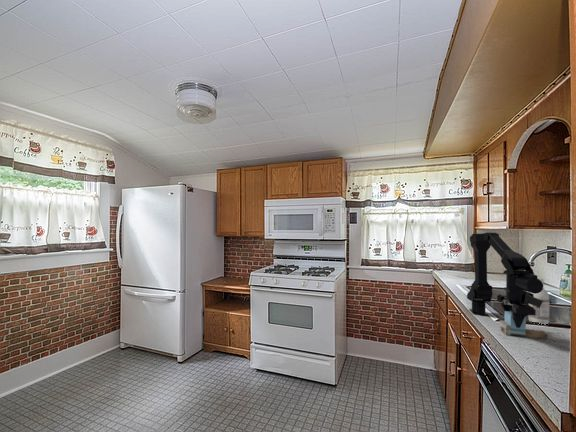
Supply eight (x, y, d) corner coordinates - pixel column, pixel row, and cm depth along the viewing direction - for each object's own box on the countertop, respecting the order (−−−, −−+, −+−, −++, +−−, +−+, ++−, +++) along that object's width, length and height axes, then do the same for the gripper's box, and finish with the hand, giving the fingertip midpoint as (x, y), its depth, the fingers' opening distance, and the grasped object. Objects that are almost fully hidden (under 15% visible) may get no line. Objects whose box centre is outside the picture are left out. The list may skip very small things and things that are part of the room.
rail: (505, 335, 111) (506, 325, 111) (499, 329, 116) (499, 320, 116) (549, 340, 106) (549, 330, 106) (540, 334, 112) (540, 324, 112)
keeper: (510, 333, 110) (510, 315, 110) (504, 327, 116) (504, 311, 116) (525, 334, 109) (525, 317, 109) (518, 329, 114) (518, 312, 114)
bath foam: (526, 318, 130) (526, 276, 130) (545, 321, 126) (546, 278, 127) (531, 323, 123) (531, 279, 124) (551, 326, 120) (552, 281, 120)
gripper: (553, 294, 101) (553, 337, 101) (527, 283, 119) (527, 319, 118) (516, 291, 104) (516, 332, 104) (496, 281, 122) (496, 316, 122)
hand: (514, 324), depth 112 cm, fingers closed on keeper, 6 cm apart
